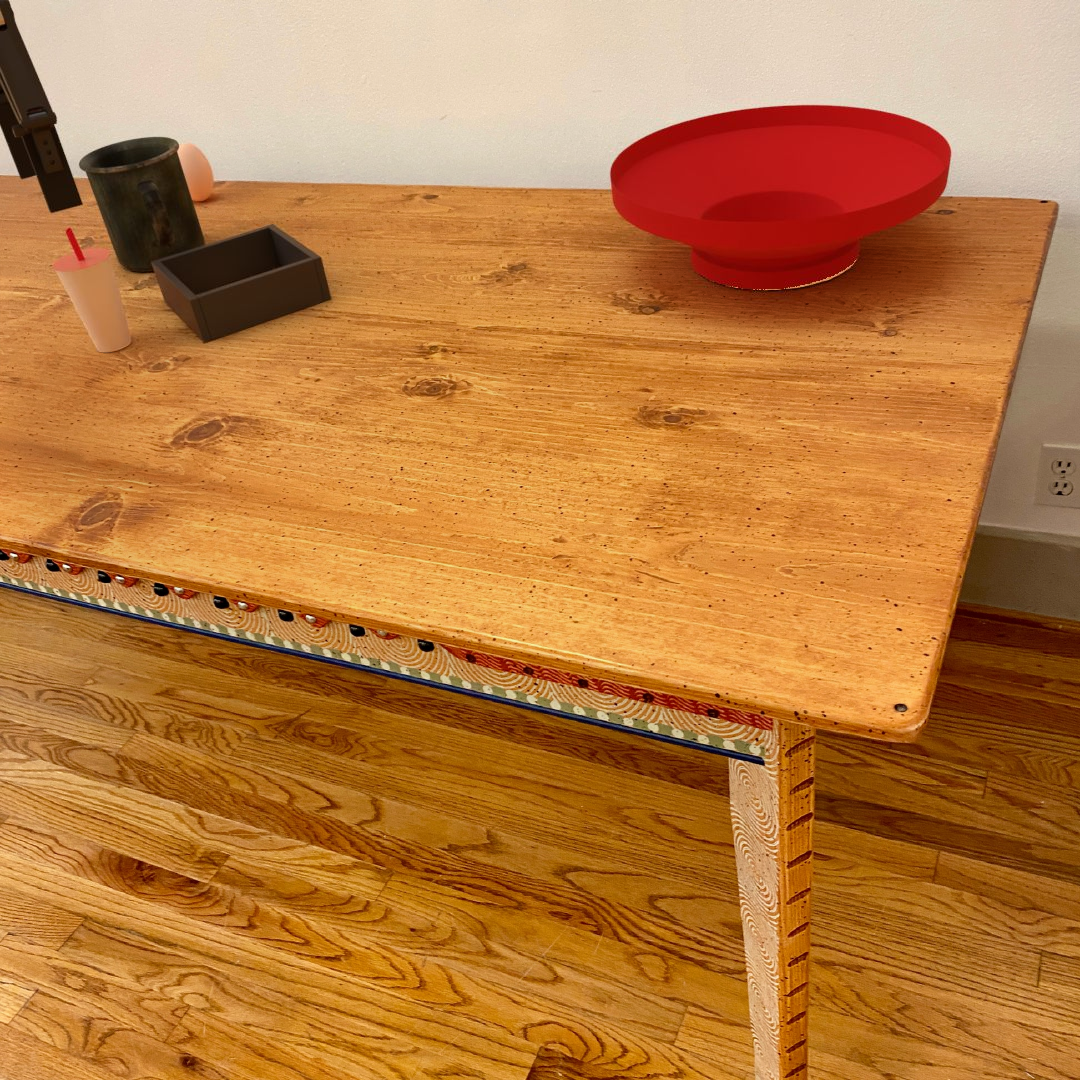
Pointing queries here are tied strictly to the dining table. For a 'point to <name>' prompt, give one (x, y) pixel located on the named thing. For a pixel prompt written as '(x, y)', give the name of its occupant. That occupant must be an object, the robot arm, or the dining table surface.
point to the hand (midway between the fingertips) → (50, 191)
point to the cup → (95, 294)
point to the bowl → (779, 188)
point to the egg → (196, 171)
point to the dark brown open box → (241, 281)
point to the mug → (143, 200)
